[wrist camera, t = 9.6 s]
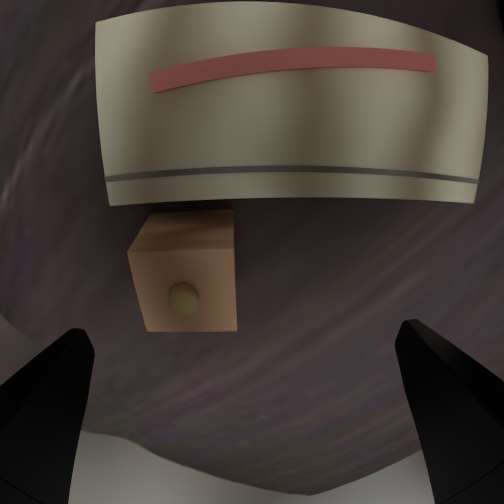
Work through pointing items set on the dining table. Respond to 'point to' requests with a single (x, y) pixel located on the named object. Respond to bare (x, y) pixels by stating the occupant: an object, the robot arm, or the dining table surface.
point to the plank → (285, 109)
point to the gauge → (186, 271)
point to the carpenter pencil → (288, 64)
